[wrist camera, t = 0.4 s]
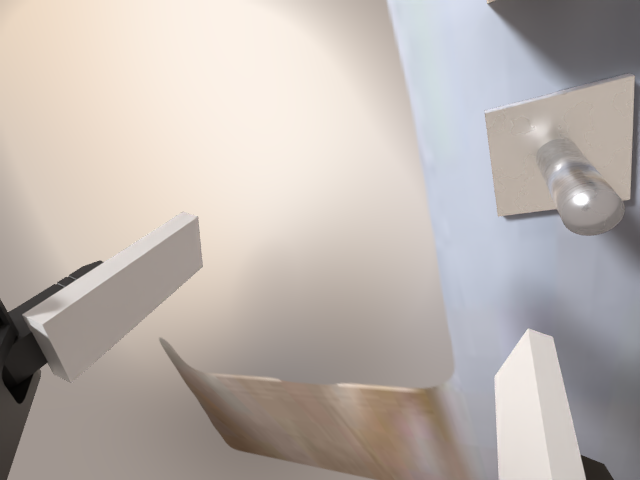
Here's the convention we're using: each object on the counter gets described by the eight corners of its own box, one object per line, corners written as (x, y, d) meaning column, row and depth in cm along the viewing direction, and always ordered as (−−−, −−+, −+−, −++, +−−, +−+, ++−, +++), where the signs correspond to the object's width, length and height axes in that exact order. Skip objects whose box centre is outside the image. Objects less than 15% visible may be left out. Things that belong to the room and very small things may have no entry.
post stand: (484, 110, 31) (488, 151, 21) (627, 73, 27) (724, 102, 16) (497, 210, 35) (506, 286, 25) (624, 192, 30) (699, 277, 20)
